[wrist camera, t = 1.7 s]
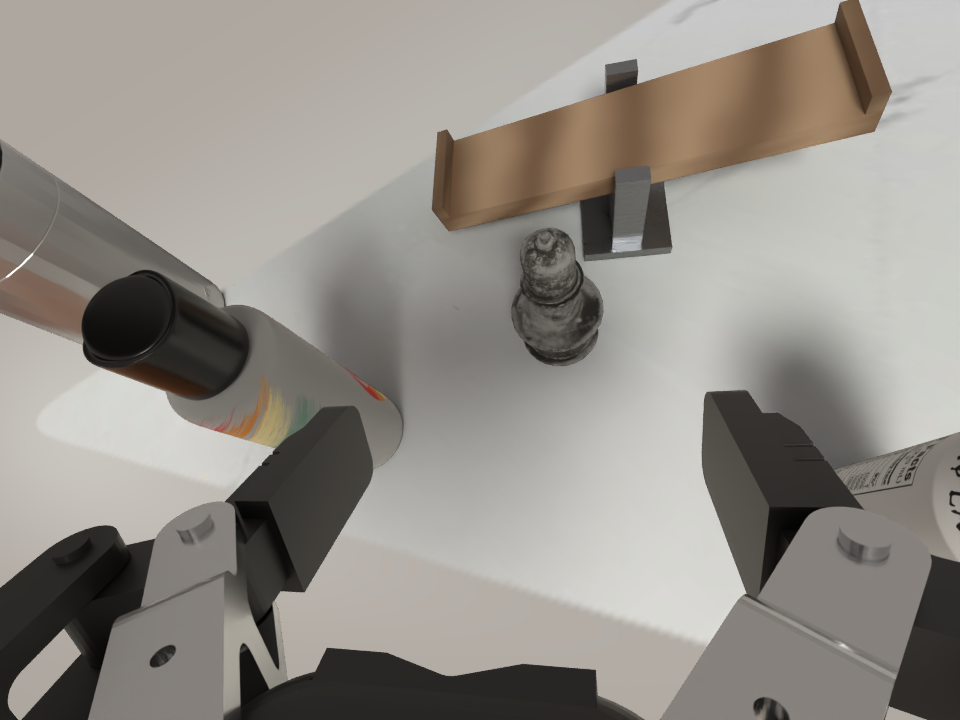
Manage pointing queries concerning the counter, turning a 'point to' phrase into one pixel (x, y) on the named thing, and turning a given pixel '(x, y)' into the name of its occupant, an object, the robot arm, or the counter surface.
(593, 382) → the counter surface
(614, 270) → the counter surface
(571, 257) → the dark grey turned piece
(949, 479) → the energy drink can
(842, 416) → the counter surface
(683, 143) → the beam
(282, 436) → the lotion bottle
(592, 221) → the pivot stand
